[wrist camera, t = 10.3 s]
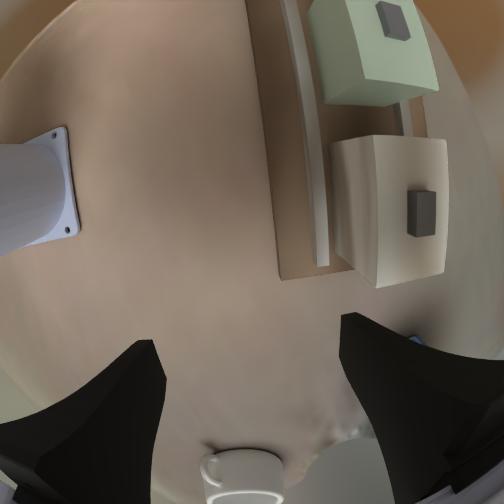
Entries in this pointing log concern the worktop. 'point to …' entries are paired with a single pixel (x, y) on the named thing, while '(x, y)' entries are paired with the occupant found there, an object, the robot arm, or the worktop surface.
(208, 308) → the worktop surface
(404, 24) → the module
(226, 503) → the mug
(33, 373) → the worktop surface
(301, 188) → the rail board
